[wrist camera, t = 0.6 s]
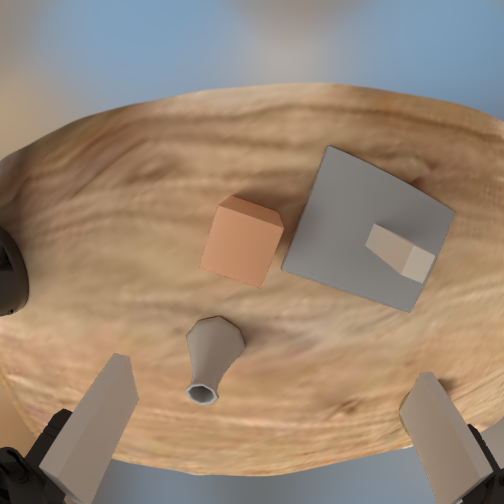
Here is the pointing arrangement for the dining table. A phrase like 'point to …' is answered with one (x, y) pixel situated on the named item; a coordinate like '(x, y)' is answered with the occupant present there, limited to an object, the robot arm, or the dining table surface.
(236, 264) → the peach square-faced block
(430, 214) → the grey flat base
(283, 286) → the dining table surface
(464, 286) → the dining table surface
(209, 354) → the flask
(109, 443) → the robot arm
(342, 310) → the dining table surface
